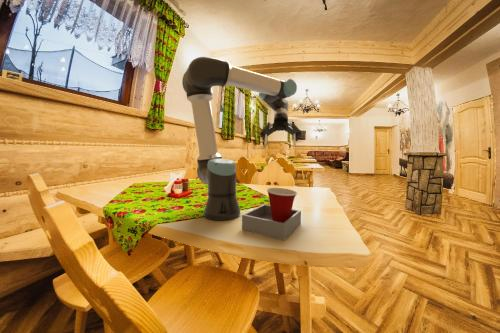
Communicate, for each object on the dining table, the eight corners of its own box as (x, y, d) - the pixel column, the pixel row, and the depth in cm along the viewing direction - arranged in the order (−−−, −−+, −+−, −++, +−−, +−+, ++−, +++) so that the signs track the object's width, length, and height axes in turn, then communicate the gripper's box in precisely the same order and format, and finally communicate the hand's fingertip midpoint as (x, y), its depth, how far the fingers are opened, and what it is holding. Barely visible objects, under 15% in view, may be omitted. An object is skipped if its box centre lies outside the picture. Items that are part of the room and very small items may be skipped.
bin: (242, 229, 64) (241, 214, 64) (263, 216, 78) (263, 204, 77) (284, 240, 56) (284, 224, 56) (300, 223, 69) (301, 210, 69)
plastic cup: (298, 229, 62) (298, 193, 61) (265, 227, 63) (265, 192, 62) (295, 218, 72) (296, 187, 71) (267, 216, 74) (267, 186, 73)
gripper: (304, 123, 102) (306, 150, 88) (258, 124, 106) (254, 150, 93) (305, 111, 96) (308, 138, 83) (257, 113, 101) (252, 139, 87)
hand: (279, 145), depth 88 cm, fingers open, 13 cm apart
